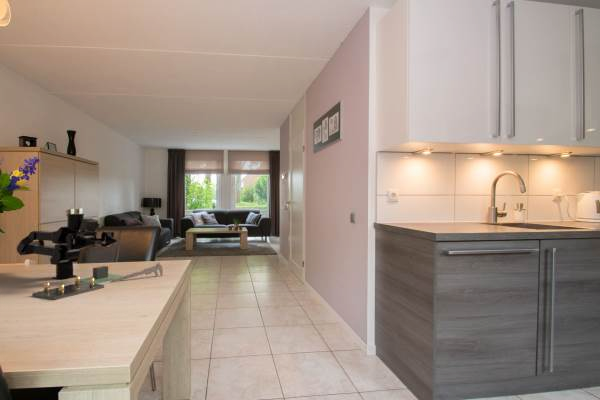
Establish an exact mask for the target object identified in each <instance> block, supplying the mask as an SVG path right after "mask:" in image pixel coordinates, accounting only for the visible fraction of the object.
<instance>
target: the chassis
mask: <svg viewBox="0 0 600 400" xmlns="http://www.w3.org/2000/svg"><path fill="white" fill-rule="evenodd" d="M80 279H81V276H80V275H76V277H74V283H72V284H68V285H65V284H63V283H61V284H58V287H54V288H50V287H51V286H50V282H49V281H48V282H47V281H46V282H44V283H43V290H42V291H37V292H32V295H31V296H32V297H35V298H41V299H46V300H53V301H56V300H59V299H64V298H67V297H72V296H77V295H80V294H84V293H88V292H92V291H96V290H100V289H104V288H105V284H102V283H98V284H94V278H90V279H89V283H86V282H81V283H80Z"/></svg>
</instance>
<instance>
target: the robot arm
mask: <svg viewBox="0 0 600 400" xmlns="http://www.w3.org/2000/svg"><path fill="white" fill-rule="evenodd" d="M84 215H85V214H84V213H67V226H61V227H60V228H58V230H55V231H48V230H47V231H46V230H33V231H30V232H29V234H28V235H27V236H25V237H24V238H22V239H21V240H20V242H18V244H17V246H16V251H17V253H18V255H19V256H27V255H28V256H29V255H39V256H40V255H41V256H48V257H50V259H49V262H50V264H51V265H54V266H55V275H54V276H52V279H54V280H55V279H56V280H65V279H69V278H75V277H76V276H77V275H76V274H74V263H77V262H78V261H79V257H80V253H81V251H80V250H82V249H85V248H92V247H96V245H98V244H99V245H100V246H101V247H105V248H106V247H113V246H114V244H116V243H117V241H118V240H117V239H116V238H115V233H114V231H109V230H108V231H102V232H101V237H97V233H98V231H96V230H97V229H99V228H100V225H101V223H100V221H99V220H98V219H94V218H85V216H84ZM45 241H50V242H51V243H53V244H54V245H46V244H45Z"/></svg>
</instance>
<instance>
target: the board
mask: <svg viewBox="0 0 600 400" xmlns="http://www.w3.org/2000/svg"><path fill="white" fill-rule="evenodd" d="M121 276H123V275H121V274H112V273H109V266H107V265H102V266H96V267H93V268H92V276H88V277H84V278H83V277H82V278H80V283H81V282H86V283H89V279H90V278H94V284H102V283H106V282H110V281H112V280H113V279H114V278H118V277H121Z"/></svg>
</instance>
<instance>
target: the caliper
mask: <svg viewBox="0 0 600 400" xmlns="http://www.w3.org/2000/svg"><path fill="white" fill-rule="evenodd" d="M158 271H159V273H160V276H161V277H162V276H164V275H163V274H164V273H163V272H164V271H163V266H162V264H161V263H160V262H159V261H158V262H155V265H153V266H150V267H146V268H144V269H143V270H140V271H136V272H132V273H129V274H124V275H122V276H121V277H118V278H114V279H113V280H111V281H109V283H117V282H121V281H125V280H127V279H133V278H135V277H138V276H141V275H145V276H148V275H151V274H153V273H154V275H155V276H156V277H159V273H158Z"/></svg>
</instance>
